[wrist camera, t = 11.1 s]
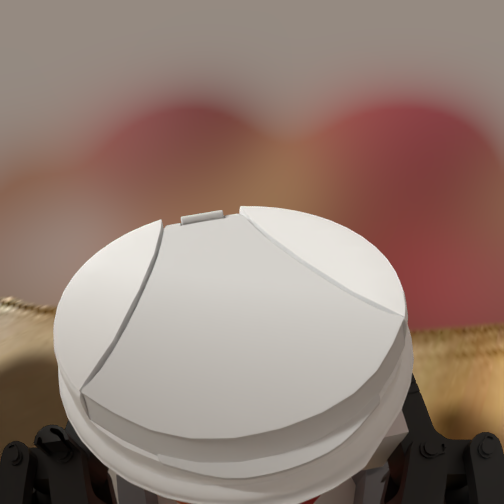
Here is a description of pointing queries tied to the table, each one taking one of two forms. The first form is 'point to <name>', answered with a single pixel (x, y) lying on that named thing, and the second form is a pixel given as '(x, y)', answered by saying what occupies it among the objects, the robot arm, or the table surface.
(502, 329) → the table surface
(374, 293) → the paper cup
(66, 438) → the robot arm
